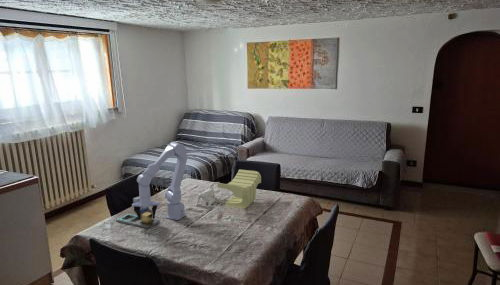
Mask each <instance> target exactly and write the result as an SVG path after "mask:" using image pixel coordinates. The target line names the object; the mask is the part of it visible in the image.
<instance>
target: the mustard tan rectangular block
mask: <svg viewBox="0 0 500 285" xmlns="http://www.w3.org/2000/svg"><path fill="white" fill-rule="evenodd" d="M141 219H142V220H141ZM141 219H140V220H141V221H142V224H145V225H149V224H150V223H152V222H153V212H147V211H145V212H144V213H142V214H141Z"/></svg>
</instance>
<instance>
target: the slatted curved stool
mask: <svg viewBox="0 0 500 285" xmlns="http://www.w3.org/2000/svg"><path fill="white" fill-rule="evenodd" d="M261 183H262V176H261V174H260V172H259V171H256V170H249V169H248V170H247V169H238V171H237V173H236V174H235V176H234V178H233V179H232V180H231V181H229V182H228V183H221V182H219V183H217V184H216V185H217V189H222V190H223V189H224V190H228V191H230V192H231V193H233V194H234V196H232V197H231V198H230V199H229V200H227V201H226V202H225V207H231V208H238V209H241V210H242V209H247V208H248V207H249V206H250V205H251V204H252V203H254V201H255V200H256V199H257V198H256V197H257V196H256V194H257V187H258V185H259V184H261Z"/></svg>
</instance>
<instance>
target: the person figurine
mask: <svg viewBox="0 0 500 285" xmlns="http://www.w3.org/2000/svg"><path fill="white" fill-rule="evenodd" d="M217 183H220V181H215V182H214V181H213V182H211V184H210V185H209V187H208V189H206V190H205V191H202V192H200V193H199V194H198V195H197V201H196V202H195V204H194V206H195V207H197V206H198V204H199V203H200V200H202V201H204V202H208V204H207V206H206V207H207V208H211V209H212V208H213V205H212V204H214V202H215V201H219V200H220V199H221V198H222V196H223V194H224V193H220V192H221V190H220V189H221V188H215V189H214V185H218V184H217ZM215 193H216V194H217V193H220V195H219V196H218V197H217V196H216V195H215Z"/></svg>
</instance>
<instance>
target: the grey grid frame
mask: <svg viewBox="0 0 500 285" xmlns="http://www.w3.org/2000/svg"><path fill="white" fill-rule="evenodd" d="M127 218H131V219H129V220H127ZM115 220H116V222H117V223H122V224H126V225H131V226H135V227H139V228H144V229H148V230H149V229H151V228H153V227H154V226H156V225H157V224H159V223H161V221H160V219H156V218H154V219H153V222H152V223H150V224H149V225H145V224H142V219H140V220H141V221H138V222H135V221H136V220H139V218H138V216H137V214H133V213H132V214H131V213H126V214H124V215H122V216H120V217H118V218H116V219H115Z"/></svg>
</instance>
